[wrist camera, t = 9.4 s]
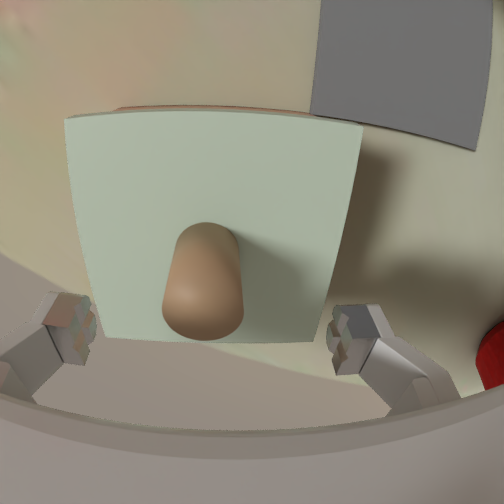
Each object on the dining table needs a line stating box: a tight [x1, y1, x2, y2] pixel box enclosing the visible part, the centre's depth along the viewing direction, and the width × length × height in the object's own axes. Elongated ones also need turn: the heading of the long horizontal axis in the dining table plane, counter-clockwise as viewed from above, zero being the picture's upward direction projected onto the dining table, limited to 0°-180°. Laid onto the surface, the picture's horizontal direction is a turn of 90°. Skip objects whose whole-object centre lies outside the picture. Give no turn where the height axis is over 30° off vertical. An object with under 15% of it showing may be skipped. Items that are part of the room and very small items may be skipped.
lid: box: [64, 108, 364, 343], centre depth 13 cm, size 12×12×5 cm
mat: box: [310, 0, 493, 150], centre depth 14 cm, size 13×13×1 cm
